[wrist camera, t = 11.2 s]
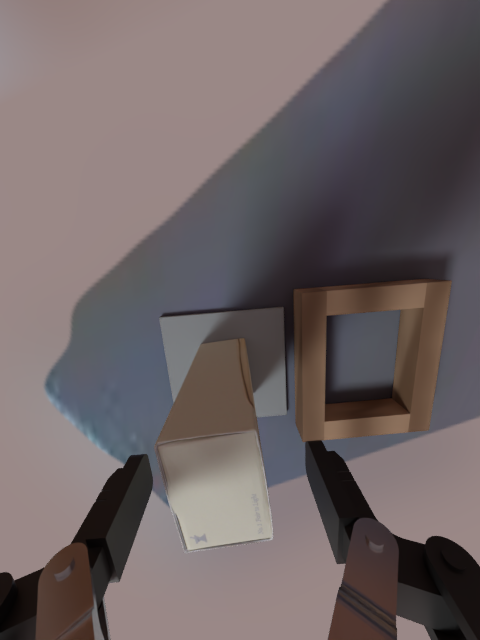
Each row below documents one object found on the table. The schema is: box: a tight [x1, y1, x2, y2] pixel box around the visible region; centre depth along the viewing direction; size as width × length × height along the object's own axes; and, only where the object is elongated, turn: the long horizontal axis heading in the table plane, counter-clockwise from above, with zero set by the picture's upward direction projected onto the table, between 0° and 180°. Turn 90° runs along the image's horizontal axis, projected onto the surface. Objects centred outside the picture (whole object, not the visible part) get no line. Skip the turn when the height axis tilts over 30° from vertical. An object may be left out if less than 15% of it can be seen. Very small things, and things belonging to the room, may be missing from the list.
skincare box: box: [154, 338, 273, 553], centre depth 16 cm, size 6×4×12 cm
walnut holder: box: [293, 279, 452, 442], centre depth 21 cm, size 12×14×2 cm
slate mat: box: [159, 307, 287, 417], centre depth 22 cm, size 11×11×1 cm
